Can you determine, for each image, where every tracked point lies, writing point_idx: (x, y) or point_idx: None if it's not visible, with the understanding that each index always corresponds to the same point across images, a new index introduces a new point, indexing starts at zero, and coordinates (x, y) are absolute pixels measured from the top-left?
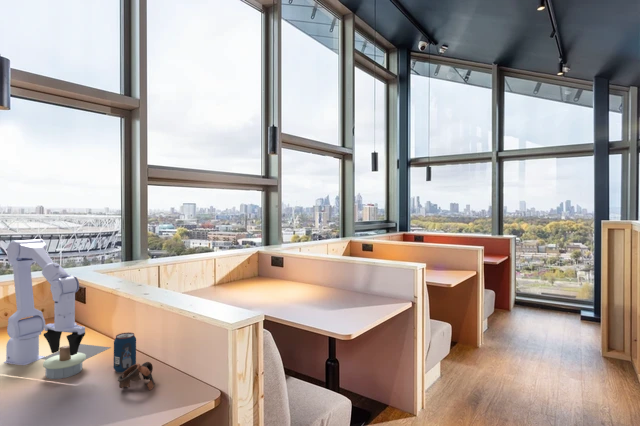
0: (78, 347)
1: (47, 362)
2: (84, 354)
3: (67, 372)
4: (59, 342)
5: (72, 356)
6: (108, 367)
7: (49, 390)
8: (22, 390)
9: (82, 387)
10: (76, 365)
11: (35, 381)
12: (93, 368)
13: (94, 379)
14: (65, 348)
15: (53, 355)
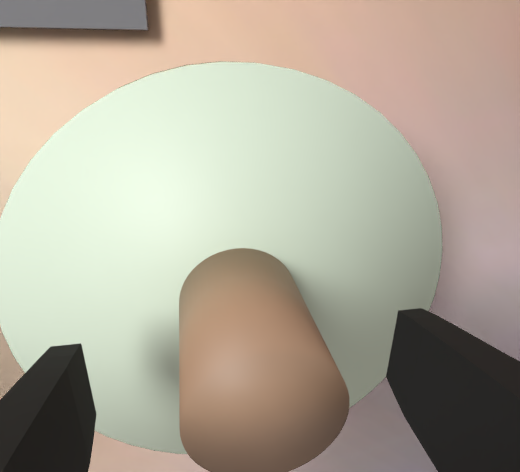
0: (494, 355)
1: (136, 415)
2: (356, 108)
3: None
4: (17, 446)
5: (252, 213)
6: (515, 6)
7: None
8: (188, 466)
9: (497, 335)
10: None
11: None
12: (389, 69)
13: (513, 237)
14: (313, 442)
15: None
